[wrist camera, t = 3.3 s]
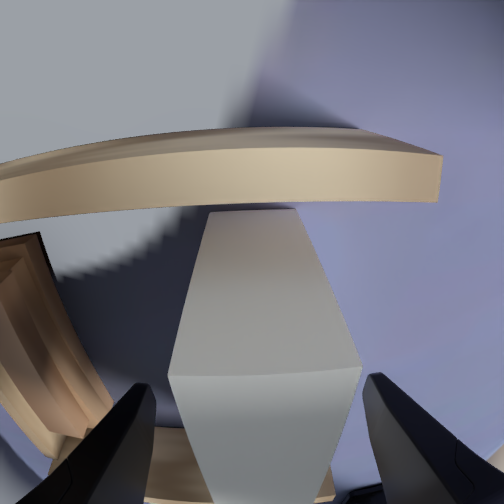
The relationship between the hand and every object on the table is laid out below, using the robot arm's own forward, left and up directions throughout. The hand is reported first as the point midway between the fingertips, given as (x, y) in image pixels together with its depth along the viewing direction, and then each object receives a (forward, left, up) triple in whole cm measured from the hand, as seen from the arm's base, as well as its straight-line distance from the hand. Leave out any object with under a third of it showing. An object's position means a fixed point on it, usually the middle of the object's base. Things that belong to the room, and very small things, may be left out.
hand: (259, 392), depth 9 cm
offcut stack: (+8, 0, -3) cm, 8 cm away
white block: (0, 0, -3) cm, 3 cm away
